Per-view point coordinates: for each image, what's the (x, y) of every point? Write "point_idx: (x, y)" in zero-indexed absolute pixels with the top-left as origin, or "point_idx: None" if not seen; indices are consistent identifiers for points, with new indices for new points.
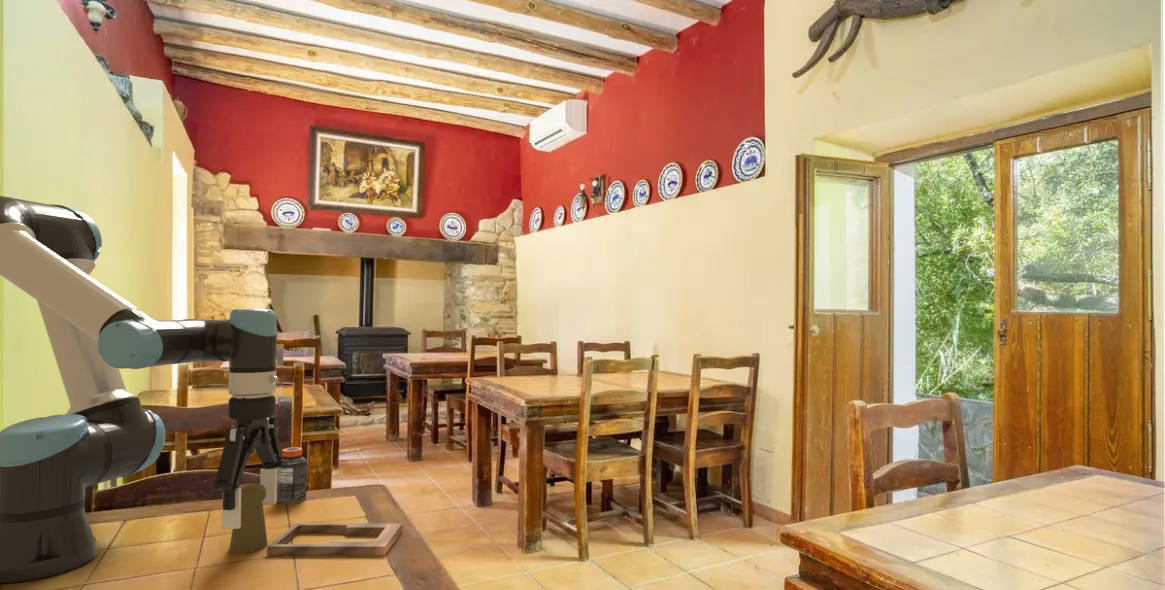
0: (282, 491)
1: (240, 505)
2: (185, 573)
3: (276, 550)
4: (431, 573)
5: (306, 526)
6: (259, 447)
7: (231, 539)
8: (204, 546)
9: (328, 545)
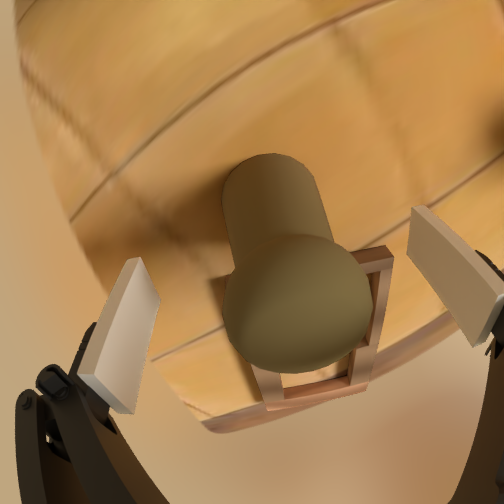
0: None
1: (143, 356)
2: (82, 179)
3: None
4: (226, 430)
5: (377, 282)
6: (478, 478)
7: (238, 181)
8: (250, 73)
9: (257, 369)
